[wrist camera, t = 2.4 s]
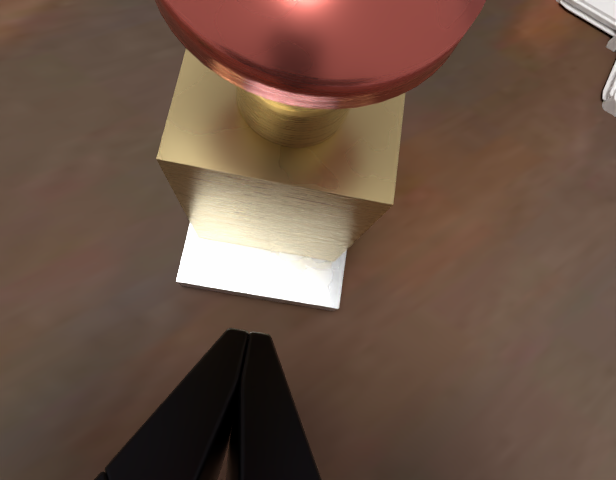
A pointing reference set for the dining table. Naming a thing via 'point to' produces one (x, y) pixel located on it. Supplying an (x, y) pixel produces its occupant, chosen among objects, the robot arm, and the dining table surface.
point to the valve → (297, 113)
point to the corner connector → (611, 19)
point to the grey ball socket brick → (260, 273)
